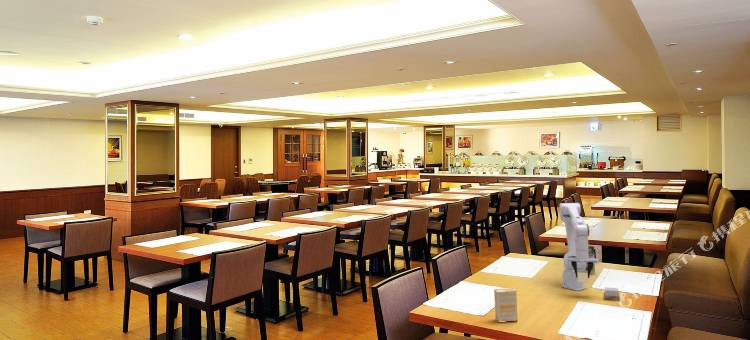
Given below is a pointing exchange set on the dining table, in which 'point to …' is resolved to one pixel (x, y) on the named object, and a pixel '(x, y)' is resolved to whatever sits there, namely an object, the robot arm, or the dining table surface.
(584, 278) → the cream cube
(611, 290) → the grey slab
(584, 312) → the dining table surface
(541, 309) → the dining table surface
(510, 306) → the supplement box
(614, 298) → the walnut slab
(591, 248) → the coffee box
